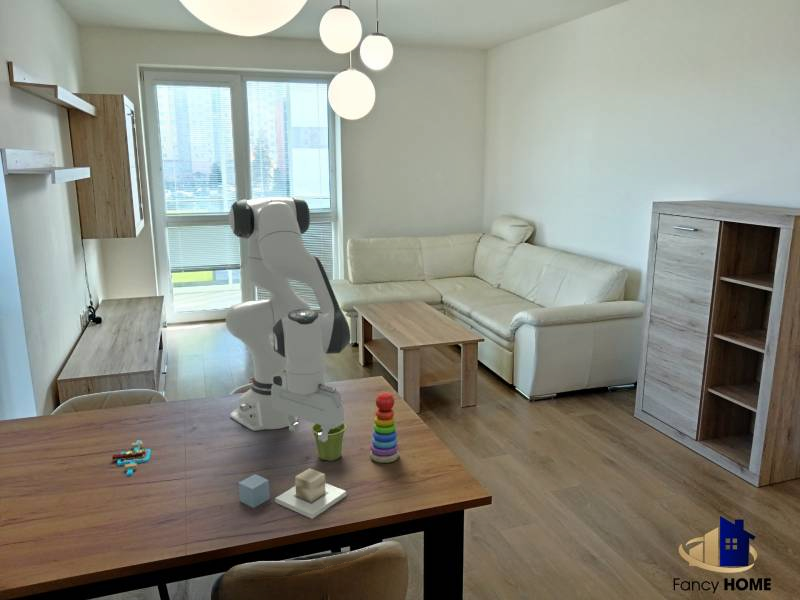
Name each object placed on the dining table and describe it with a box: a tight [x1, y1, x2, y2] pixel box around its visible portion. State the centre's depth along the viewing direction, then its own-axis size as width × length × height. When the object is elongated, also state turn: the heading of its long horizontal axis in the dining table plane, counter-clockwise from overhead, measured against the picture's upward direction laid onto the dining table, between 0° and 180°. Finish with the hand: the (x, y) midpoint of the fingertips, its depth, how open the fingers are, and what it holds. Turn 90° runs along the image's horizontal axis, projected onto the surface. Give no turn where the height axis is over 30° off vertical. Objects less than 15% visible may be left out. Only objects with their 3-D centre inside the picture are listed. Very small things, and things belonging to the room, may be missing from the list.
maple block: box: [294, 467, 326, 502], centre depth 146 cm, size 5×5×5 cm
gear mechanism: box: [111, 439, 152, 477], centre depth 167 cm, size 20×5×9 cm
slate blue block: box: [238, 473, 271, 509], centre depth 146 cm, size 5×5×5 cm
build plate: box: [274, 482, 347, 520], centre depth 146 cm, size 12×12×1 cm
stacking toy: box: [369, 391, 400, 464], centre depth 165 cm, size 8×8×19 cm
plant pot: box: [311, 422, 347, 461], centre depth 167 cm, size 9×9×9 cm
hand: (308, 435), depth 143 cm, fingers open, 8 cm apart
